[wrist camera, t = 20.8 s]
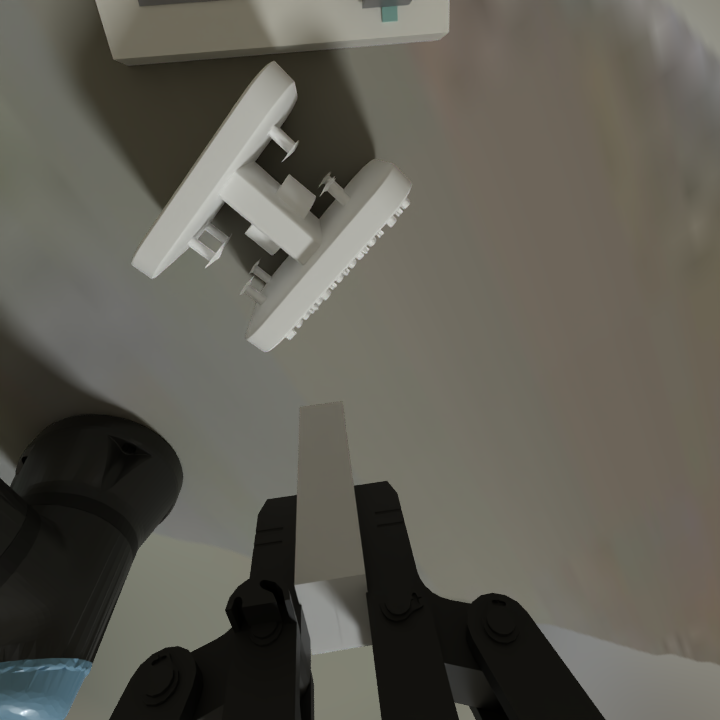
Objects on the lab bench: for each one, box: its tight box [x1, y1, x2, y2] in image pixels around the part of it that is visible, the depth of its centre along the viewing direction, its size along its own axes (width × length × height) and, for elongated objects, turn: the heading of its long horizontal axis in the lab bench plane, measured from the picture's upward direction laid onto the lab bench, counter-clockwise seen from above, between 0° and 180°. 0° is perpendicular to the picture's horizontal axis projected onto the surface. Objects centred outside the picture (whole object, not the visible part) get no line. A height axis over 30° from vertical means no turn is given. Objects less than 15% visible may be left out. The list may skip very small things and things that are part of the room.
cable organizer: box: [131, 61, 412, 352], centre depth 29 cm, size 15×11×12 cm
